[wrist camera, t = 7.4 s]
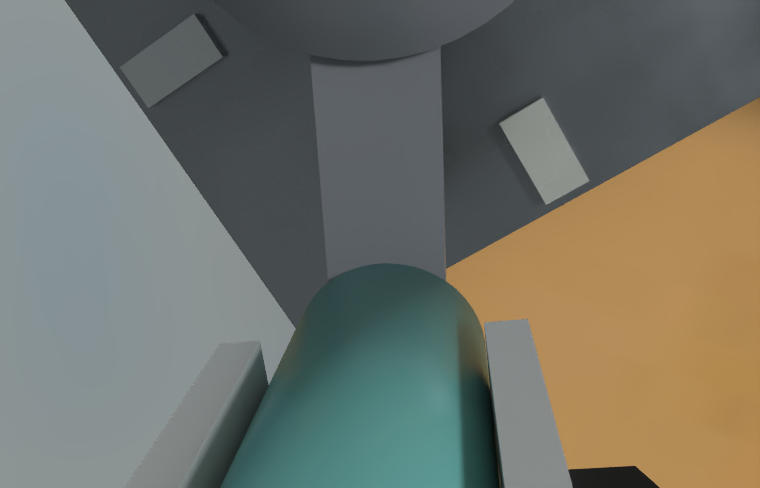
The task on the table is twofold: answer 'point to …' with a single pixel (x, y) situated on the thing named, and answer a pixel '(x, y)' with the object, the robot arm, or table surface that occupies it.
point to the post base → (459, 111)
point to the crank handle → (376, 266)
